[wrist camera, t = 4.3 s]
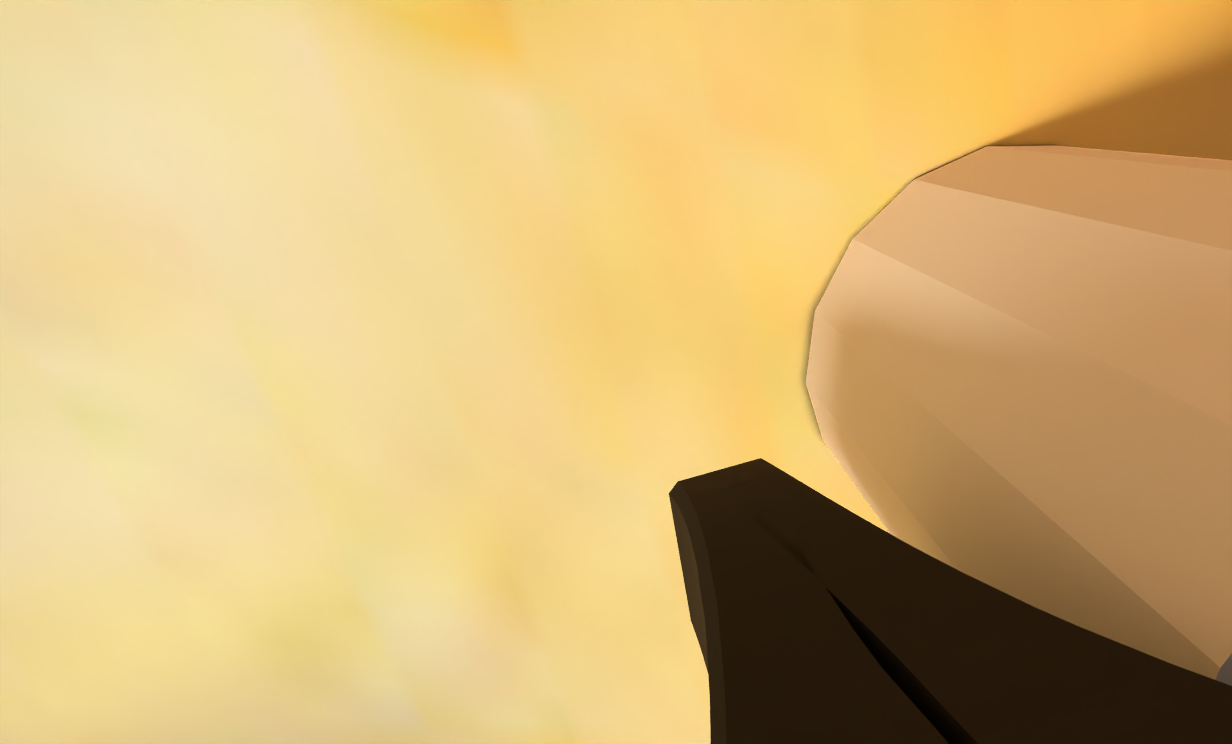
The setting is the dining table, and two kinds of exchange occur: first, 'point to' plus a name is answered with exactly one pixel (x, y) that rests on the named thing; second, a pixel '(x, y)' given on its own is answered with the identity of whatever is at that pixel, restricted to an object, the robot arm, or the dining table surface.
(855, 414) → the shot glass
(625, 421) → the dining table surface
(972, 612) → the robot arm
